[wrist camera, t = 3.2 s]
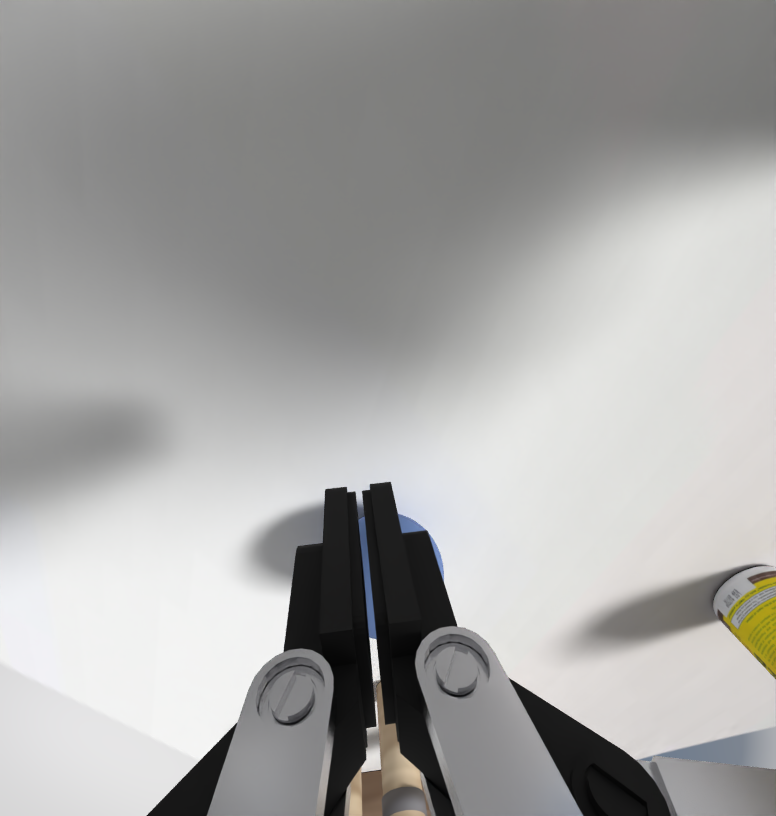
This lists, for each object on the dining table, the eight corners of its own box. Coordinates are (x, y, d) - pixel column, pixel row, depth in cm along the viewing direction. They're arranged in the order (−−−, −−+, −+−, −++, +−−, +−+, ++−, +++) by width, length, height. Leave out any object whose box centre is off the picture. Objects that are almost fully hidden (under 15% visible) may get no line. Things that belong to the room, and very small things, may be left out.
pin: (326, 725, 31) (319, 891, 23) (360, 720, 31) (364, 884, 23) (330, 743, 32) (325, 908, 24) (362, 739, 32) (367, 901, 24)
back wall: (340, 776, 34) (340, 823, 31) (455, 759, 35) (464, 805, 32) (342, 787, 35) (342, 835, 32) (454, 771, 36) (463, 816, 33)
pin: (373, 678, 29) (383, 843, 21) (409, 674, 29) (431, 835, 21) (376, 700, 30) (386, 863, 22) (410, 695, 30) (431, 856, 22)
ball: (323, 495, 22) (315, 585, 16) (431, 484, 22) (458, 569, 17) (334, 574, 24) (330, 675, 19) (431, 564, 25) (455, 659, 19)
